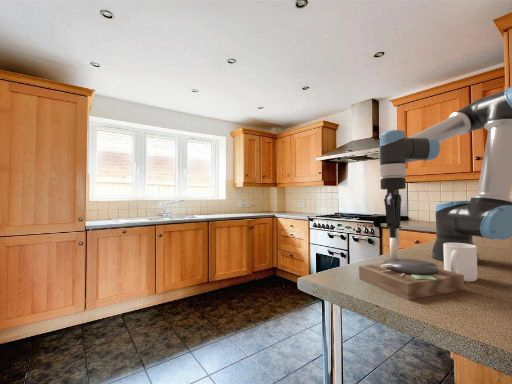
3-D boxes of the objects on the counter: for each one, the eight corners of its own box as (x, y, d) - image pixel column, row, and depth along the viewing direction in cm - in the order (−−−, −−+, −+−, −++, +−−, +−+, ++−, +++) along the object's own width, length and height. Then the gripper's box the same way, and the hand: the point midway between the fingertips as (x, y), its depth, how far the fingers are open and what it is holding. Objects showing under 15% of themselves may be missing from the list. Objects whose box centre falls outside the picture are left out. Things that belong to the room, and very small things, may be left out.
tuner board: (408, 272, 90) (407, 259, 90) (466, 290, 72) (465, 274, 72) (359, 278, 83) (359, 265, 83) (409, 300, 66) (409, 283, 66)
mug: (469, 287, 75) (468, 250, 75) (435, 279, 81) (435, 246, 81) (480, 278, 82) (479, 245, 82) (449, 272, 89) (448, 241, 89)
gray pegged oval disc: (408, 260, 88) (407, 236, 89) (450, 271, 75) (449, 243, 75) (364, 265, 83) (364, 240, 83) (402, 278, 70) (401, 248, 70)
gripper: (385, 178, 96) (387, 244, 95) (375, 177, 86) (376, 249, 85) (409, 177, 91) (410, 246, 90) (400, 175, 81) (402, 253, 81)
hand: (394, 248), depth 88 cm, fingers closed
